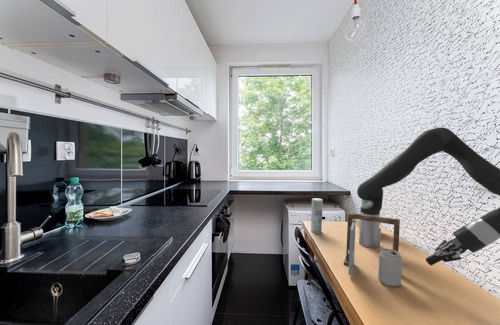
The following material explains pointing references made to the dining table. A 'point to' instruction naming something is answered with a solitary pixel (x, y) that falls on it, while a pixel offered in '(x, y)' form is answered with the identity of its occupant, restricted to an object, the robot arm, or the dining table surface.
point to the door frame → (374, 219)
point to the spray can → (316, 215)
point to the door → (351, 247)
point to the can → (390, 267)
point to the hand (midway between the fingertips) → (427, 262)
